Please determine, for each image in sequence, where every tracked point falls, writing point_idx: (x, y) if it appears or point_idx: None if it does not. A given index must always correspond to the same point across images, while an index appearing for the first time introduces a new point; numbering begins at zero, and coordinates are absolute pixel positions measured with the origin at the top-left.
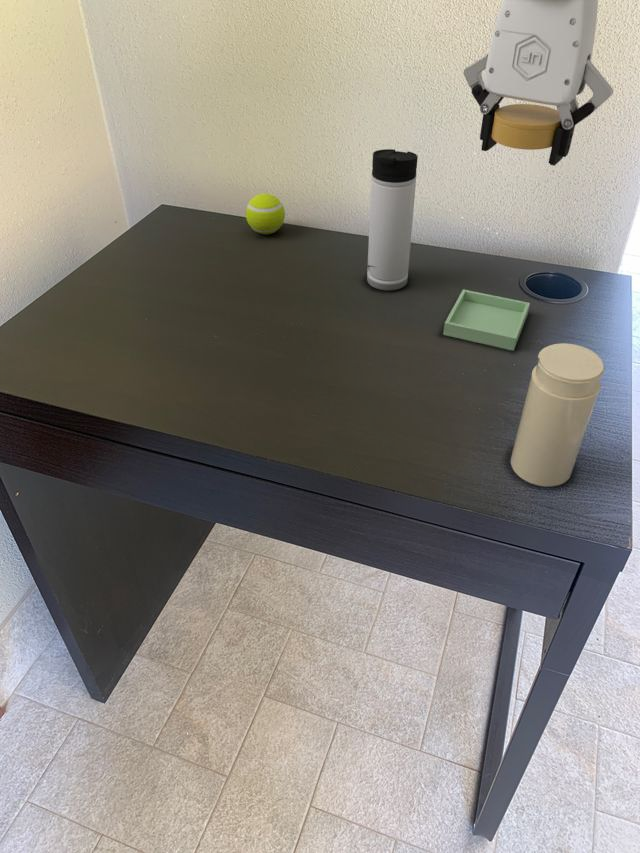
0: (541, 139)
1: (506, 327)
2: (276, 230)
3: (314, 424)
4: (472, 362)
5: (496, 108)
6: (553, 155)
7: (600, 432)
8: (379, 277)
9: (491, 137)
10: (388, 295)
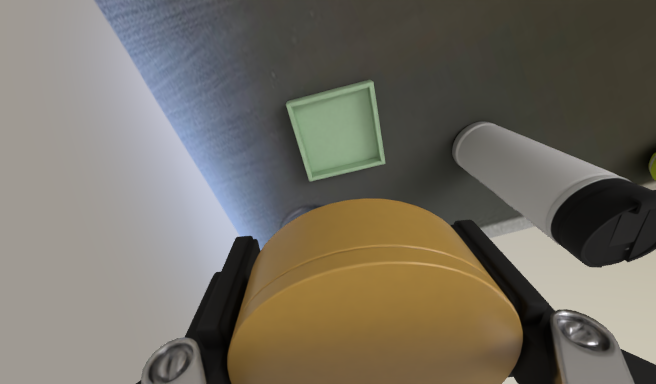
0: (264, 263)
1: (314, 135)
2: (652, 157)
3: None
4: (314, 46)
5: (523, 360)
6: (237, 252)
7: (126, 6)
8: (487, 125)
9: None
10: (462, 118)
